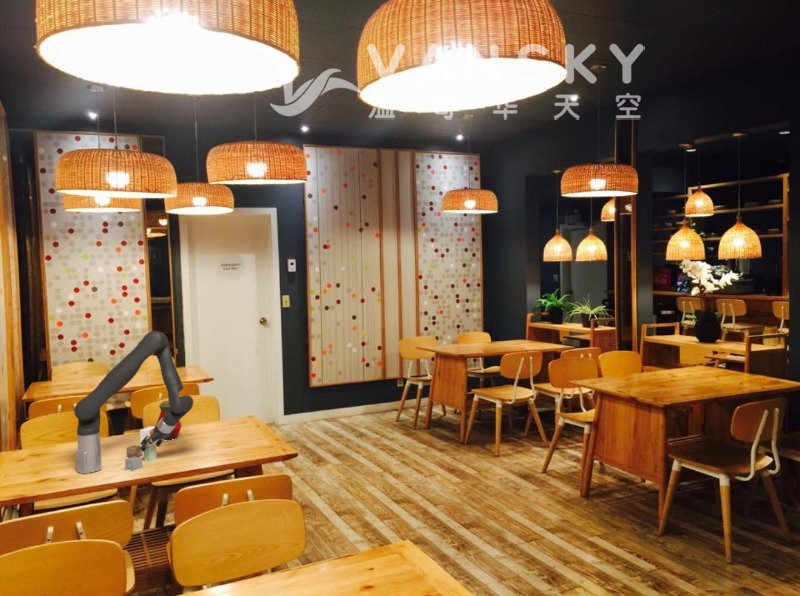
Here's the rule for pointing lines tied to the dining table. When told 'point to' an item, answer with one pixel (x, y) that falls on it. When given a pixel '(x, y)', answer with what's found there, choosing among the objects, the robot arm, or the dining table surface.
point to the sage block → (150, 453)
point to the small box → (146, 433)
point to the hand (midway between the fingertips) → (149, 447)
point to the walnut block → (134, 451)
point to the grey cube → (133, 463)
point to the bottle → (164, 408)
